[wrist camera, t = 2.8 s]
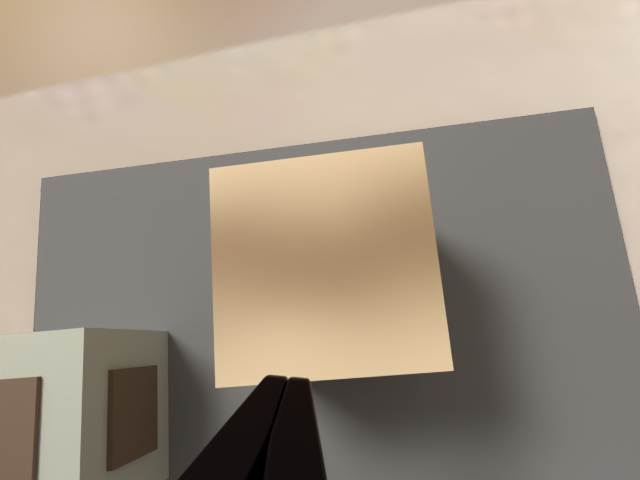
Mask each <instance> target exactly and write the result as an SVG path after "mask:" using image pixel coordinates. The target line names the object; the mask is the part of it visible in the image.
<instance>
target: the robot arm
mask: <svg viewBox="0 0 640 480" xmlns="http://www.w3.org/2000/svg"><path fill="white" fill-rule="evenodd" d="M177 480H327V476H326V470H325V464H324V458H323V452H322V446H321V440H320V434H319V429H318V423H317V417H316V411H315V405H314V399H313V393H312V387H311V382H310V380H309V379H308V378H302V377H290V378H289V379H288V378H287V377H286V376H281V375H267V376H265V377H264V378H263V379H262V380H261V382H260V383H259V384H258V385H257V386H256V387H255V389H254V390H253V391H252V392H251V393H250V395H249V396H248V397H247V398H246V399H245V400H244V402H243V403H242V404H241V405H240V406H239V407H238V409H237V410H236V411H235V412H234V413H233V414H232V416H231V417H230V418H229V419H228V420H227V421H226V423H225V424H224V425H223V426H222V427H221V428H220V430H219V431H218V432H217V433H216V434H215V435H214V437H213V438H212V439H211V440H210V441H209V442H208V444H207V445H206V446H205V447H204V448H203V449H202V451H201V452H200V453H199V454H198V455H197V456H196V458H195V459H194V460H193V461H192V462H191V464H190V465H189V466H188V467H187V468H186V469H185V471H184V472H183V473H182V474H181V475H180V476H179V478H178V479H177Z"/></svg>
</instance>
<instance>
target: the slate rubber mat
mask: <svg viewBox="0 0 640 480" xmlns="http://www.w3.org/2000/svg"><path fill="white" fill-rule="evenodd" d="M415 142H423V149H424V157H425V164H426V171H427V179H428V186H429V193H430V201H431V208H432V215H433V223H434V230H435V237H436V245H437V252H438V259H439V266H440V274H441V281H442V288H443V296H444V303H445V310H446V318H447V325H448V332H449V340H450V347H451V354H452V362H453V369H454V371H444V372H430V373H416V374H402V375H389V376H375V377H361V378H347V379H334V380H320V381H310V382H311V387H312V393H313V399H314V405H315V411H316V417H317V423H318V429H319V434H320V440H321V446H322V452H323V458H324V464H325V470H326V476H327V480H640V310H639V306H638V301H637V297H636V292H635V288H634V284H633V279H632V275H631V270H630V266H629V262H628V257H627V253H626V248H625V244H624V240H623V235H622V231H621V226H620V222H619V217H618V213H617V209H616V204H615V200H614V195H613V191H612V187H611V182H610V178H609V173H608V169H607V165H606V160H605V156H604V151H603V147H602V143H601V138H600V134H599V129H598V125H597V120H596V116H595V112H594V107H590V108H582V109H575V110H567V111H559V112H551V113H544V114H536V115H528V116H520V117H513V118H505V119H497V120H489V121H482V122H474V123H466V124H458V125H451V126H443V127H435V128H427V129H420V130H412V131H404V132H396V133H389V134H381V135H373V136H365V137H358V138H350V139H342V140H334V141H327V142H319V143H311V144H303V145H296V146H288V147H280V148H272V149H265V150H257V151H249V152H241V153H234V154H226V155H218V156H210V157H203V158H195V159H187V160H179V161H172V162H164V163H156V164H148V165H141V166H133V167H125V168H117V169H110V170H102V171H94V172H86V173H79V174H71V175H63V176H55V177H48V178H42V181H41V200H40V218H39V237H38V255H37V273H36V292H35V310H34V329H33V332H40V331H51V330H63V329H74V328H106V329H130V330H153V331H168V427H169V478H168V479H166V480H177V479H178V478H179V476H180V475H181V474H182V473H183V472H184V471H185V469H186V468H187V467H188V466H189V465H190V464H191V462H192V461H193V460H194V459H195V458H196V456H197V455H198V454H199V453H200V452H201V451H202V449H203V448H204V447H205V446H206V445H207V444H208V442H209V441H210V440H211V439H212V438H213V437H214V435H215V434H216V433H217V432H218V431H219V430H220V428H221V427H222V426H223V425H224V424H225V423H226V421H227V420H228V419H229V418H230V417H231V416H232V414H233V413H234V412H235V411H236V410H237V409H238V407H239V406H240V405H241V404H242V403H243V402H244V400H245V399H246V398H247V397H248V396H249V395H250V393H251V392H252V391H253V390H254V389H255V387H256V386H257V385H251V386H237V387H223V388H215V358H214V324H213V289H212V254H211V219H210V184H209V168H217V167H225V166H233V165H241V164H249V163H257V162H265V161H273V160H281V159H288V158H296V157H304V156H312V155H320V154H328V153H336V152H344V151H352V150H360V149H368V148H376V147H384V146H391V145H399V144H407V143H415Z"/></svg>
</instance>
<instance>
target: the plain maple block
mask: <svg viewBox="0 0 640 480" xmlns="http://www.w3.org/2000/svg"><path fill="white" fill-rule="evenodd" d="M209 184H210V219H211V254H212V289H213V324H214V358H215V388H223V387H237V386H251V385H258V384H259V383H260V382H261V380H262V379H263V378H264V377H265V376H267V375H281V376H286V377H287V378H288V379H289V378H290V377H302V378H308V379H309V380H310V381H320V380H334V379H347V378H361V377H375V376H389V375H402V374H416V373H430V372H444V371H454V369H453V362H452V354H451V347H450V340H449V332H448V325H447V318H446V310H445V303H444V296H443V288H442V281H441V274H440V266H439V259H438V252H437V245H436V237H435V230H434V223H433V215H432V208H431V201H430V193H429V186H428V179H427V171H426V164H425V157H424V149H423V142H415V143H407V144H399V145H391V146H384V147H376V148H368V149H360V150H352V151H344V152H336V153H328V154H320V155H312V156H304V157H296V158H288V159H281V160H273V161H265V162H257V163H249V164H241V165H233V166H225V167H217V168H209Z"/></svg>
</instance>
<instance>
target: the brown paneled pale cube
mask: <svg viewBox="0 0 640 480" xmlns="http://www.w3.org/2000/svg"><path fill="white" fill-rule="evenodd" d="M168 478H169V427H168V331H153V330H130V329H106V328H74V329H63V330H51V331H40V332H29V333H18V334H7V335H0V480H166V479H168Z"/></svg>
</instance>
